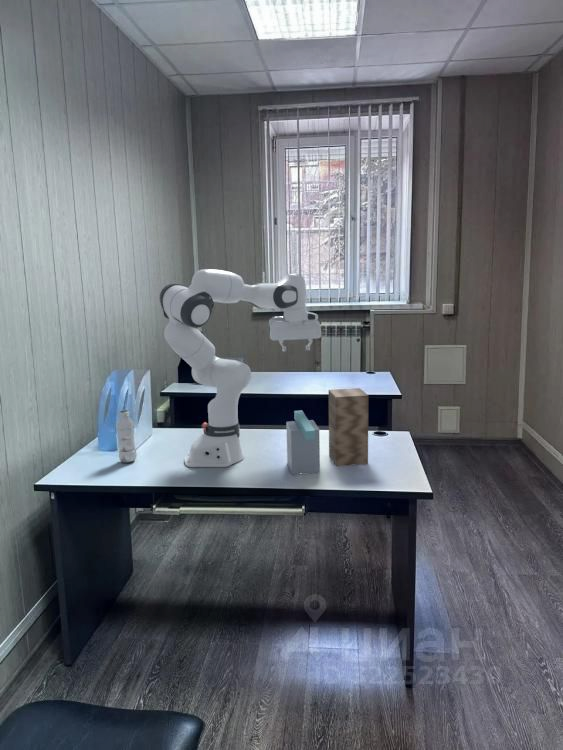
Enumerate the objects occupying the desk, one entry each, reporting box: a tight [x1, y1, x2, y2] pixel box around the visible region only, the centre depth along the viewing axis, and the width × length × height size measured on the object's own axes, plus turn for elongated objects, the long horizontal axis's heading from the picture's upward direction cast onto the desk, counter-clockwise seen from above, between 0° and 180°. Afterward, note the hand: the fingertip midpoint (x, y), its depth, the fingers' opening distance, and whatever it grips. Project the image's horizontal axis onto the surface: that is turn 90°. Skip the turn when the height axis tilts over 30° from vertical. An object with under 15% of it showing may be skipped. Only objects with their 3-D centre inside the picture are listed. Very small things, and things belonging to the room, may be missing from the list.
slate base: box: [285, 419, 321, 475], centre depth 196 cm, size 10×12×16 cm
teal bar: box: [293, 409, 315, 440], centre depth 191 cm, size 3×26×3 cm, turn 7°
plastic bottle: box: [115, 409, 138, 464], centre depth 207 cm, size 6×7×20 cm
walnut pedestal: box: [328, 387, 369, 467], centre depth 202 cm, size 12×12×26 cm
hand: (296, 350), depth 215 cm, fingers open, 8 cm apart
